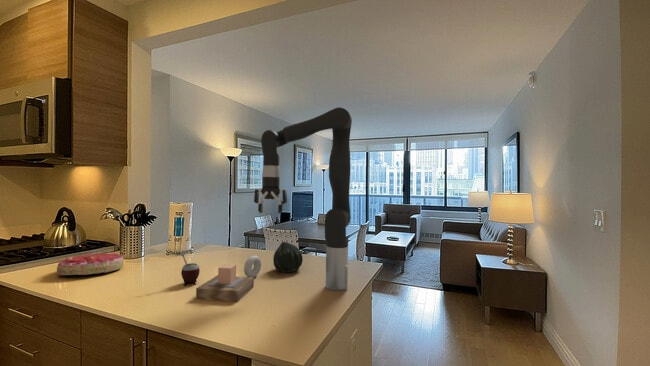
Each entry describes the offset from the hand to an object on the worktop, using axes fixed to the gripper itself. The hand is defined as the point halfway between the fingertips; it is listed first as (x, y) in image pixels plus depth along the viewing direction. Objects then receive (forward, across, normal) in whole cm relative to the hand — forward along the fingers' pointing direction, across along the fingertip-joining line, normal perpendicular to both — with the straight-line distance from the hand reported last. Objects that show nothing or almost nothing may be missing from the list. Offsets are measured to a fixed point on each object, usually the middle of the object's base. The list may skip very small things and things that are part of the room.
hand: (270, 213), depth 130 cm
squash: (+30, -4, -18) cm, 36 cm away
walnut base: (+30, +12, +16) cm, 36 cm away
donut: (+30, +9, -4) cm, 32 cm away
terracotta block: (+26, +12, +16) cm, 33 cm away
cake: (+31, +87, 0) cm, 92 cm away
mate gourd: (+30, +32, +9) cm, 45 cm away
